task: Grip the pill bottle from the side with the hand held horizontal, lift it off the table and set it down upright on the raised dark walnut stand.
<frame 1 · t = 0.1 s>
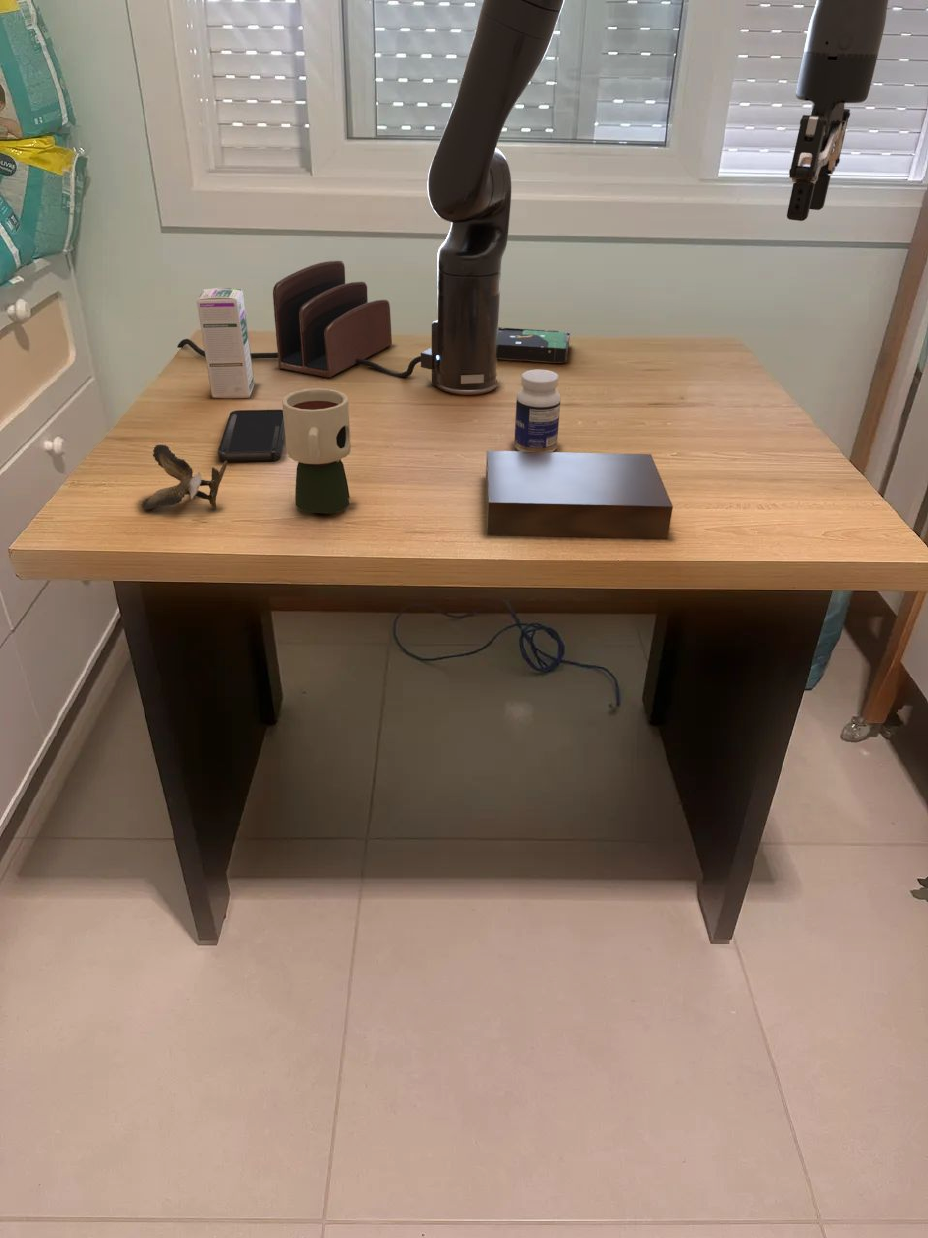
hand: (804, 214, 103), 29 cm above the table, tool pointing down, fingers open, 8 cm apart
eagle figurine: (184, 505, 103), on the table
character mug: (323, 508, 103), on the table
letter holder: (337, 358, 148), on the table
pill bottle: (535, 449, 118), on the table
syrup box: (233, 392, 134), on the table
walnut stand: (571, 508, 104), on the table
disk drive: (524, 353, 152), on the table
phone: (255, 439, 119), on the table
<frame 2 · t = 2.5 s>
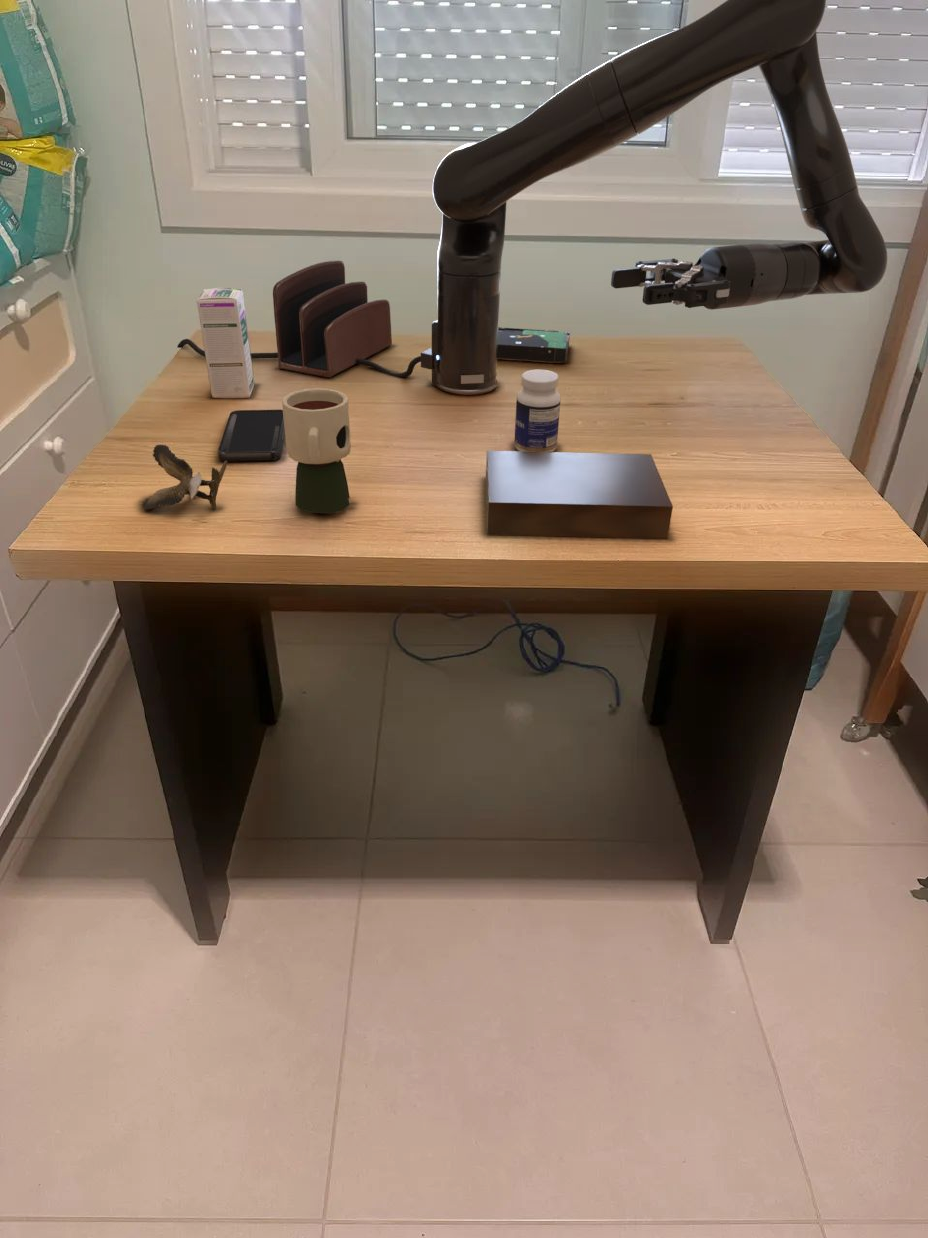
hand: (628, 286, 110), 20 cm above the table, tool horizontal, fingers open, 8 cm apart
nothing on the table moved.
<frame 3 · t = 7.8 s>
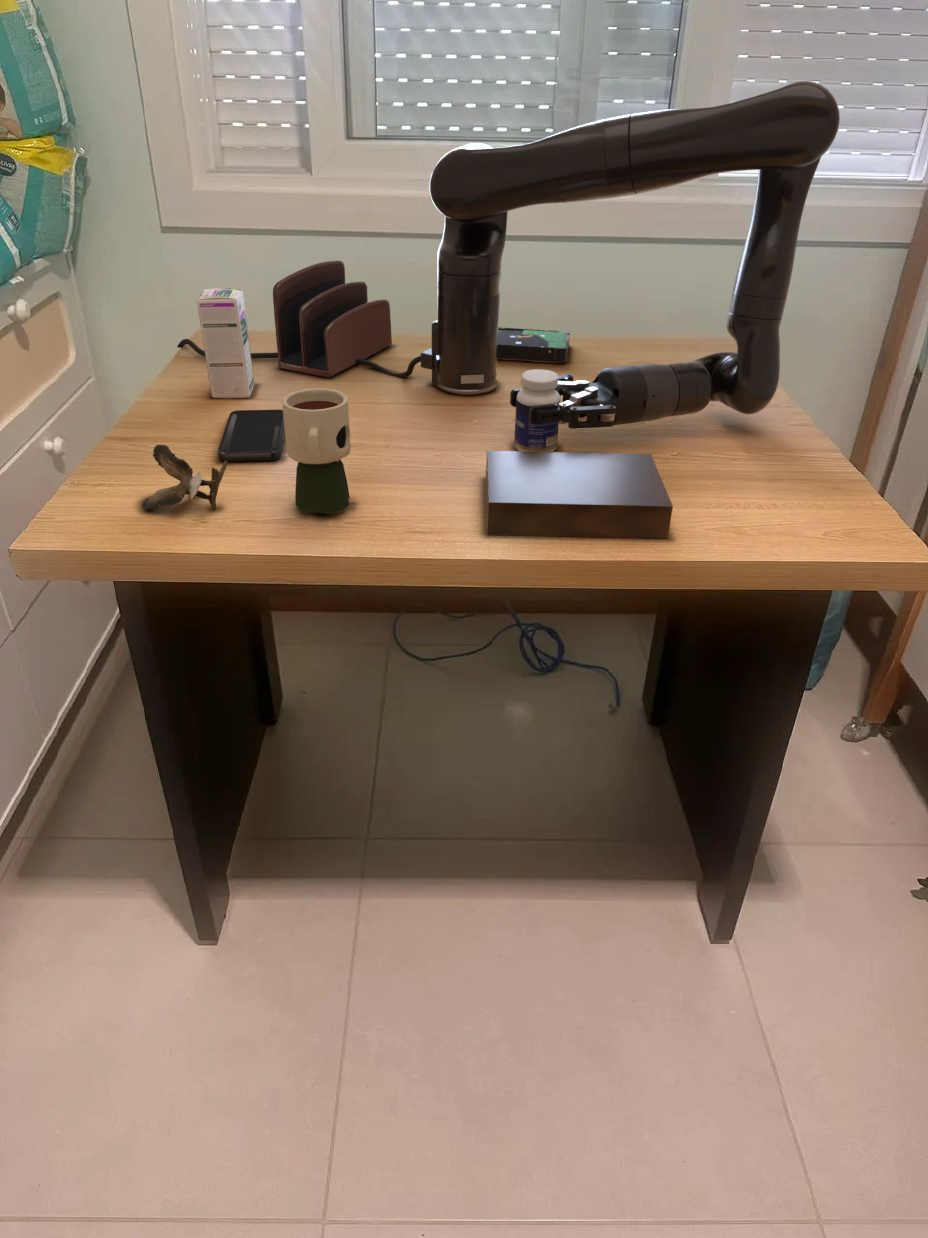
hand: (520, 406, 114), 6 cm above the table, tool horizontal, fingers closed on pill bottle, 5 cm apart
pill bottle: (535, 449, 118), on the table, touching gripper
everything else where it was.
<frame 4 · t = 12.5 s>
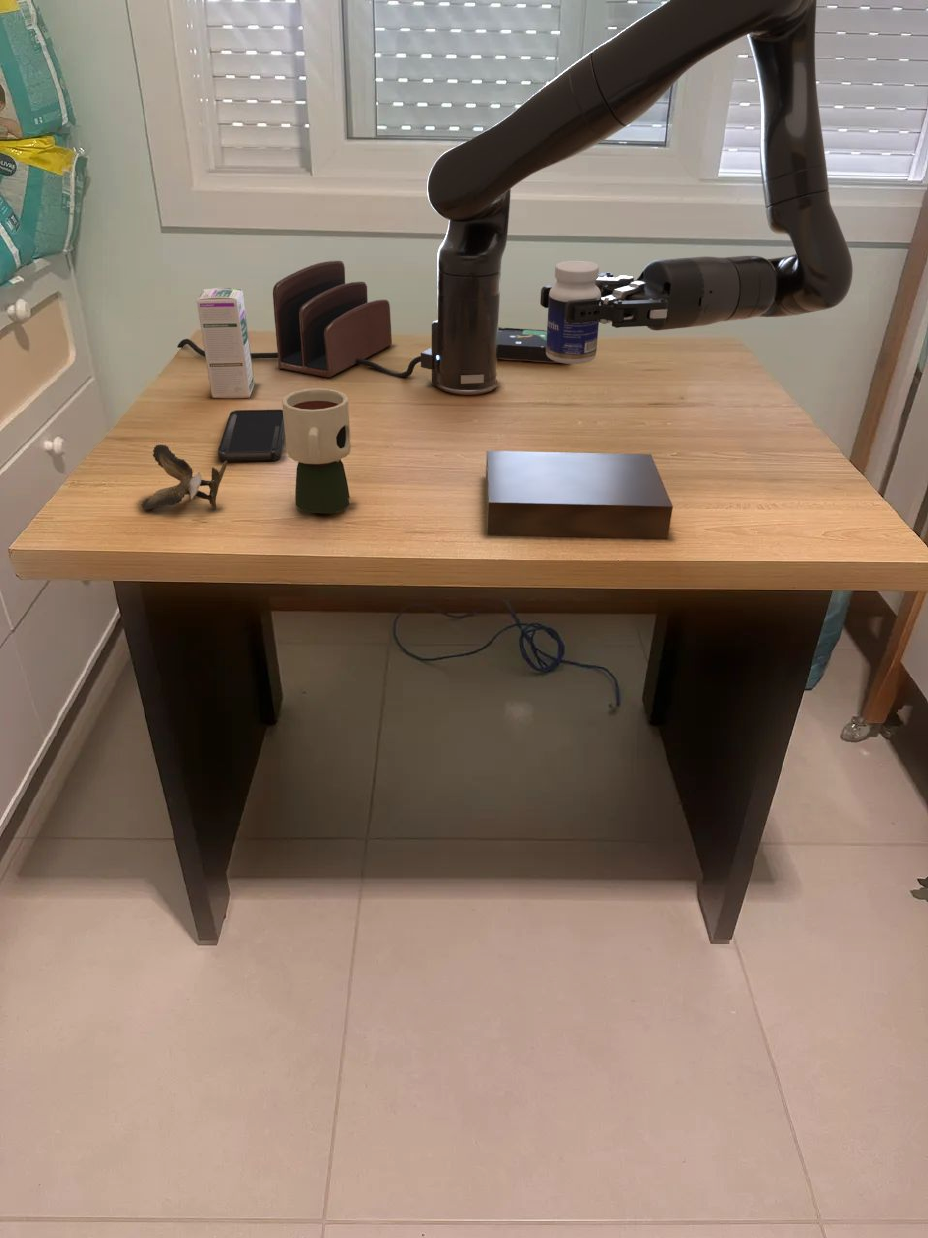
hand: (554, 304, 96), 22 cm above the table, tool horizontal, fingers closed on pill bottle, 5 cm apart
pill bottle: (570, 358, 101), point 16 cm above the table, touching gripper
everything else where it was.
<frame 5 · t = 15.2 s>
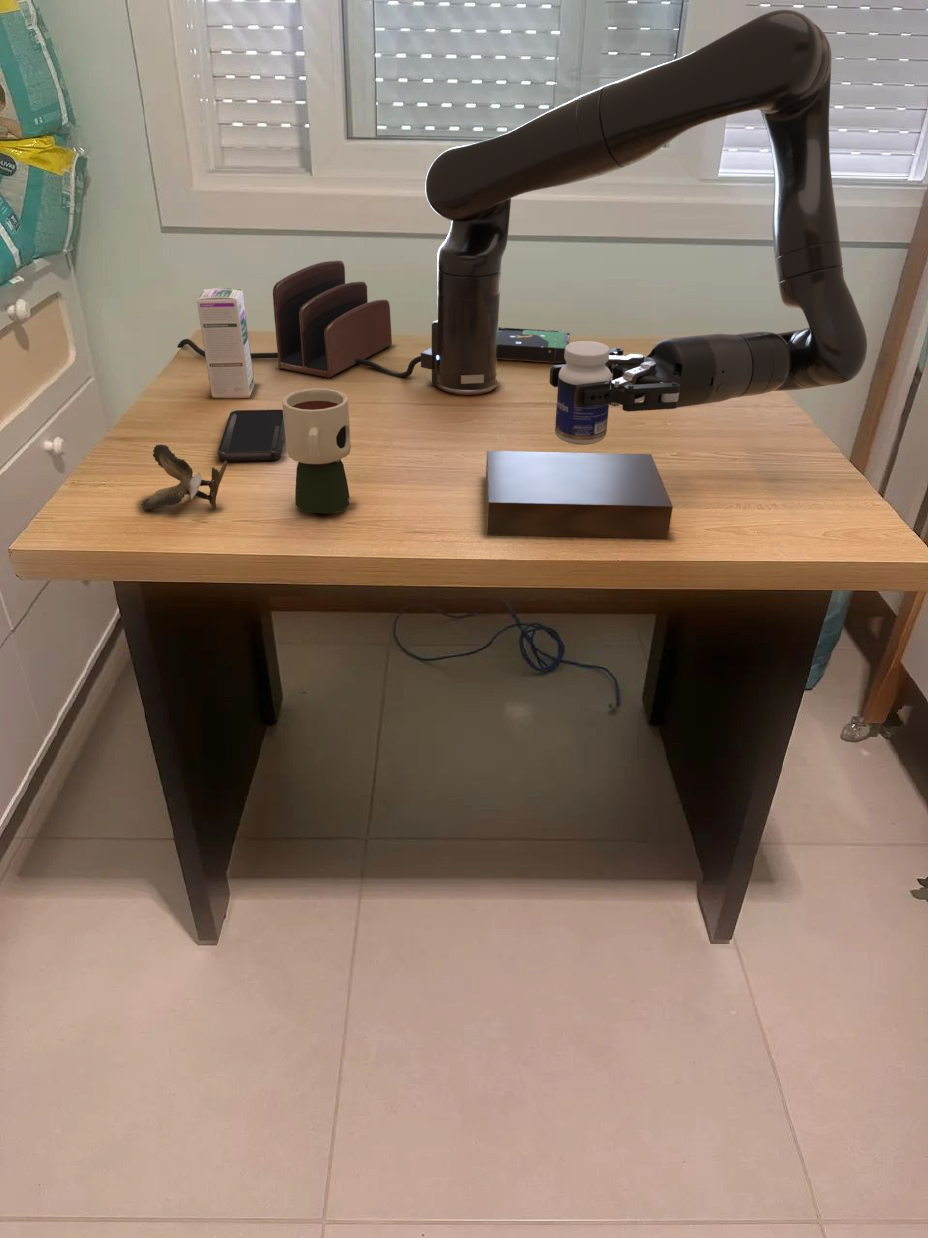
hand: (563, 386, 95), 15 cm above the table, tool horizontal, fingers closed on pill bottle, 5 cm apart
pill bottle: (580, 437, 99), point 9 cm above the table, touching gripper
everything else where it was.
when the fingers open (10 cm above the table, at t = 17.1 s): pill bottle stays where it is, resting on walnut stand.
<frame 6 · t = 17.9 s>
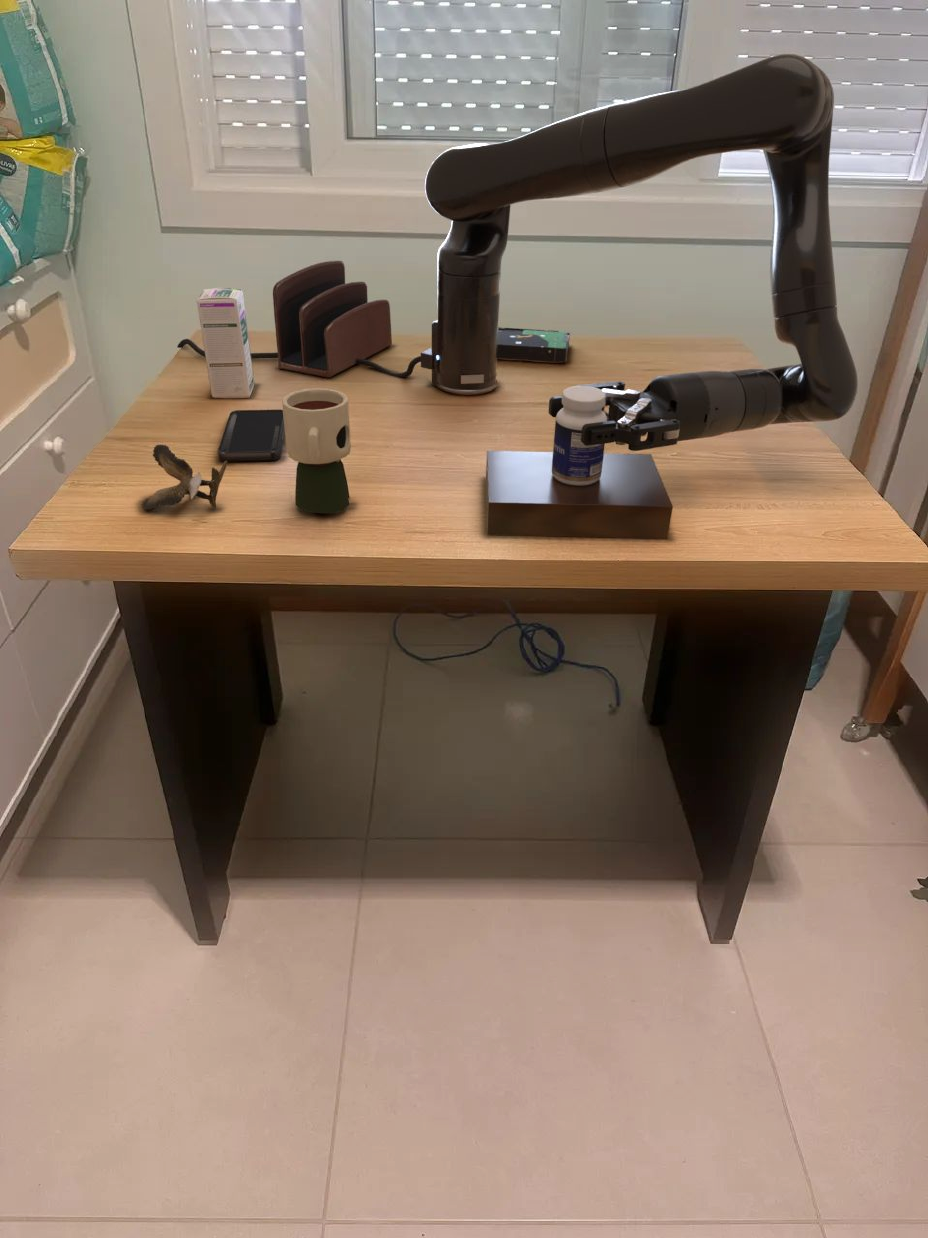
hand: (565, 420, 97), 11 cm above the table, tool horizontal, fingers open, 8 cm apart
pill bottle: (575, 478, 102), point 4 cm above the table, touching walnut stand
everything else where it was.
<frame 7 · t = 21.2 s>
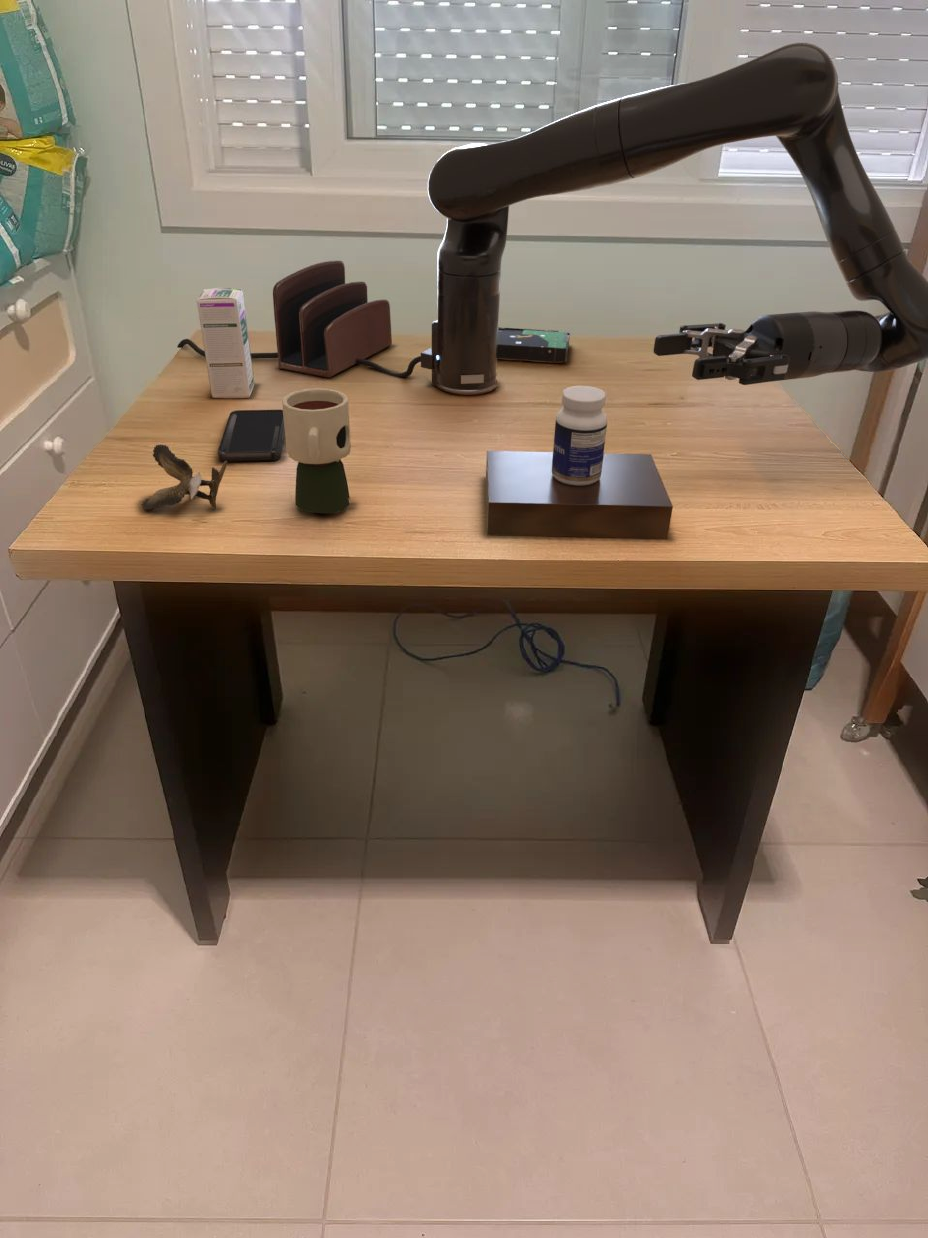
hand: (674, 357, 99), 16 cm above the table, tool horizontal, fingers open, 8 cm apart
nothing on the table moved.
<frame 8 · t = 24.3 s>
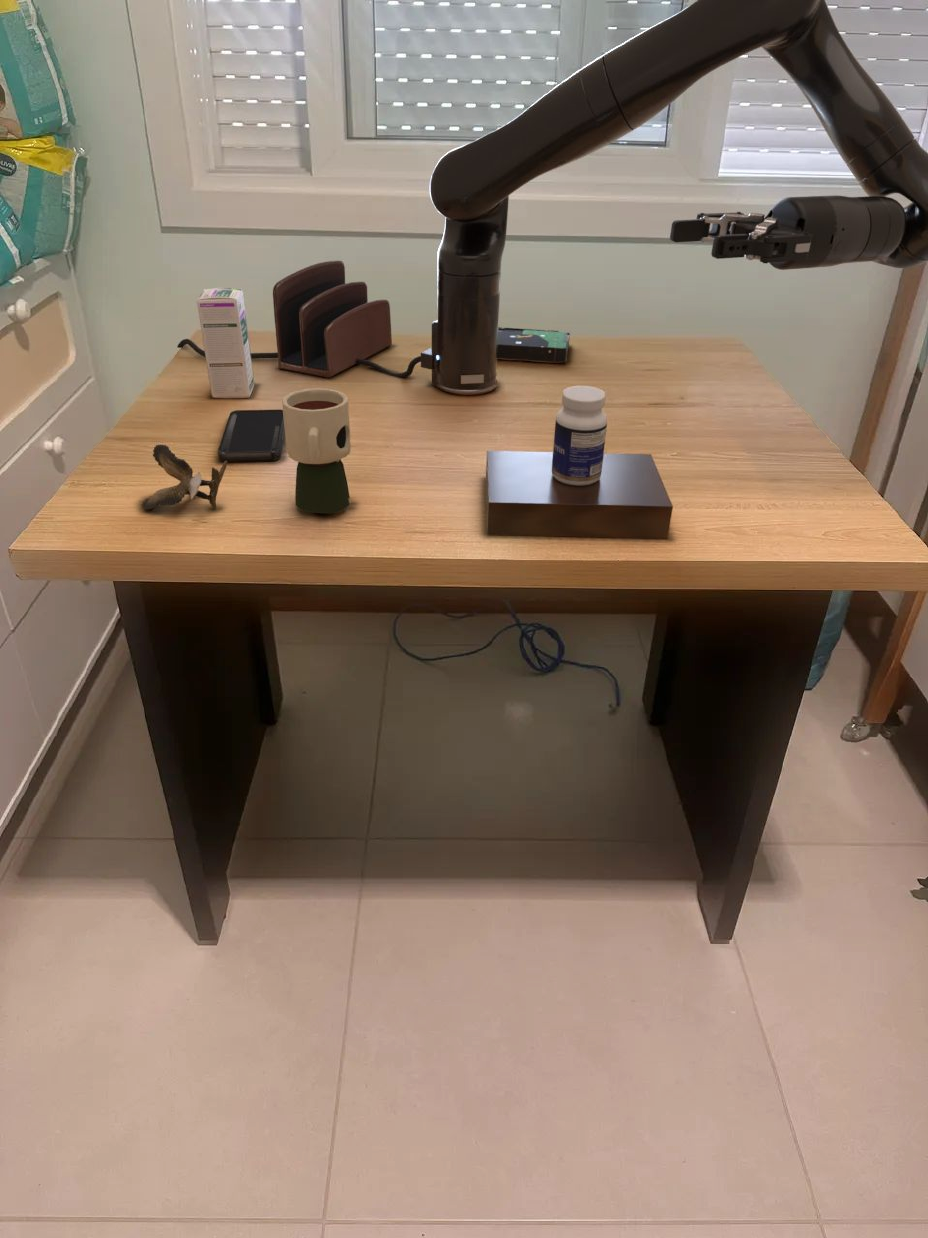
hand: (692, 238, 96), 28 cm above the table, tool horizontal, fingers open, 8 cm apart
nothing on the table moved.
at the end: pill bottle inside the target area on the walnut stand (0.1 cm from its centre), point 3.8 cm above the walnut stand's base; pill bottle tilted 0°; the gripper is holding nothing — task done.
